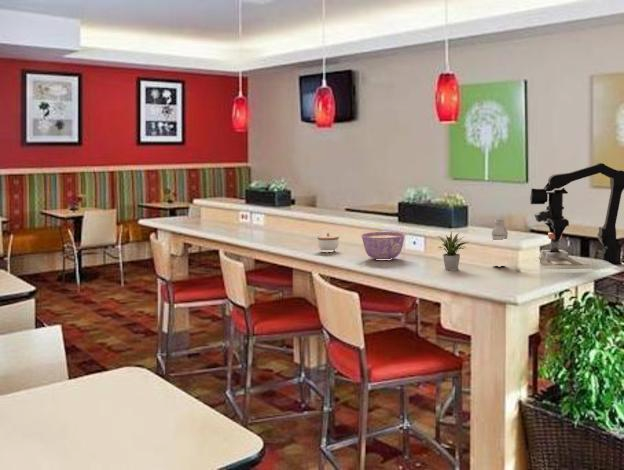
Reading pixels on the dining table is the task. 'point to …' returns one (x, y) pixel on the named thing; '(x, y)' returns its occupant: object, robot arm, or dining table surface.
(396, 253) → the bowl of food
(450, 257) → the house plant
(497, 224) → the plastic bottle
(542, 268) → the dining table surface
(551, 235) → the copper knob
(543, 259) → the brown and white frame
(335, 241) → the lidded jar
